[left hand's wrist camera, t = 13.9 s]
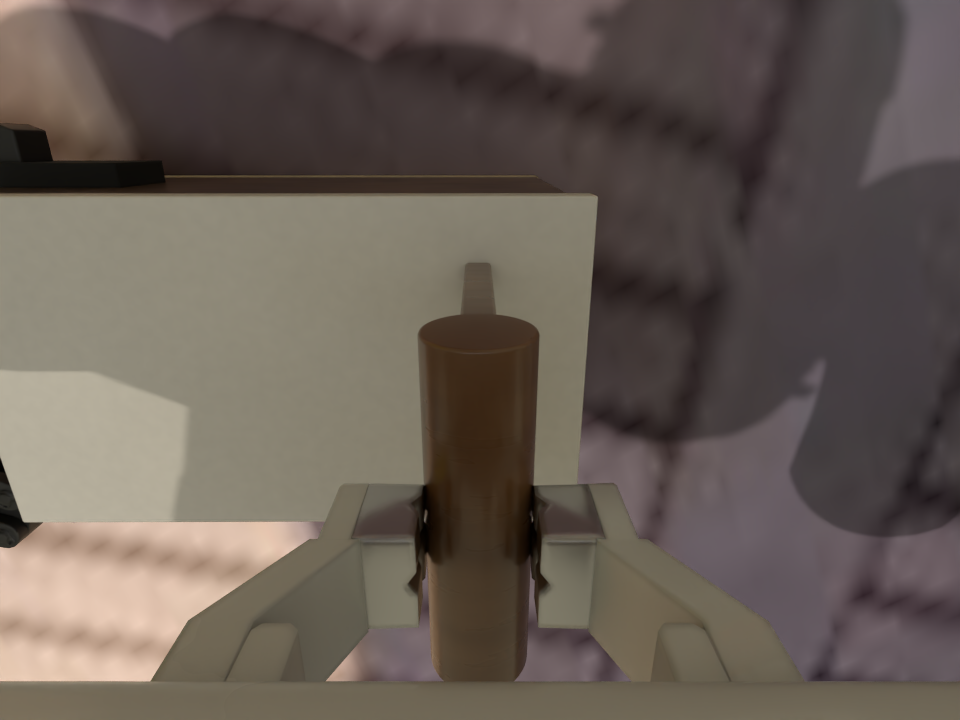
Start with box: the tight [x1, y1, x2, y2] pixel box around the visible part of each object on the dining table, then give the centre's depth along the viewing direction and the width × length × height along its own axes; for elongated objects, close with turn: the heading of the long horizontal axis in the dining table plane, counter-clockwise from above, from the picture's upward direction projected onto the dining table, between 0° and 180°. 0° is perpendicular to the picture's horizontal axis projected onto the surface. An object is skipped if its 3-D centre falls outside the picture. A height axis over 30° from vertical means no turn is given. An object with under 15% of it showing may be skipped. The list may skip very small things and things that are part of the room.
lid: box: [0, 193, 598, 682], centre depth 13 cm, size 18×10×8 cm, turn 90°
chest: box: [0, 175, 565, 194], centre depth 22 cm, size 17×10×10 cm, turn 90°
